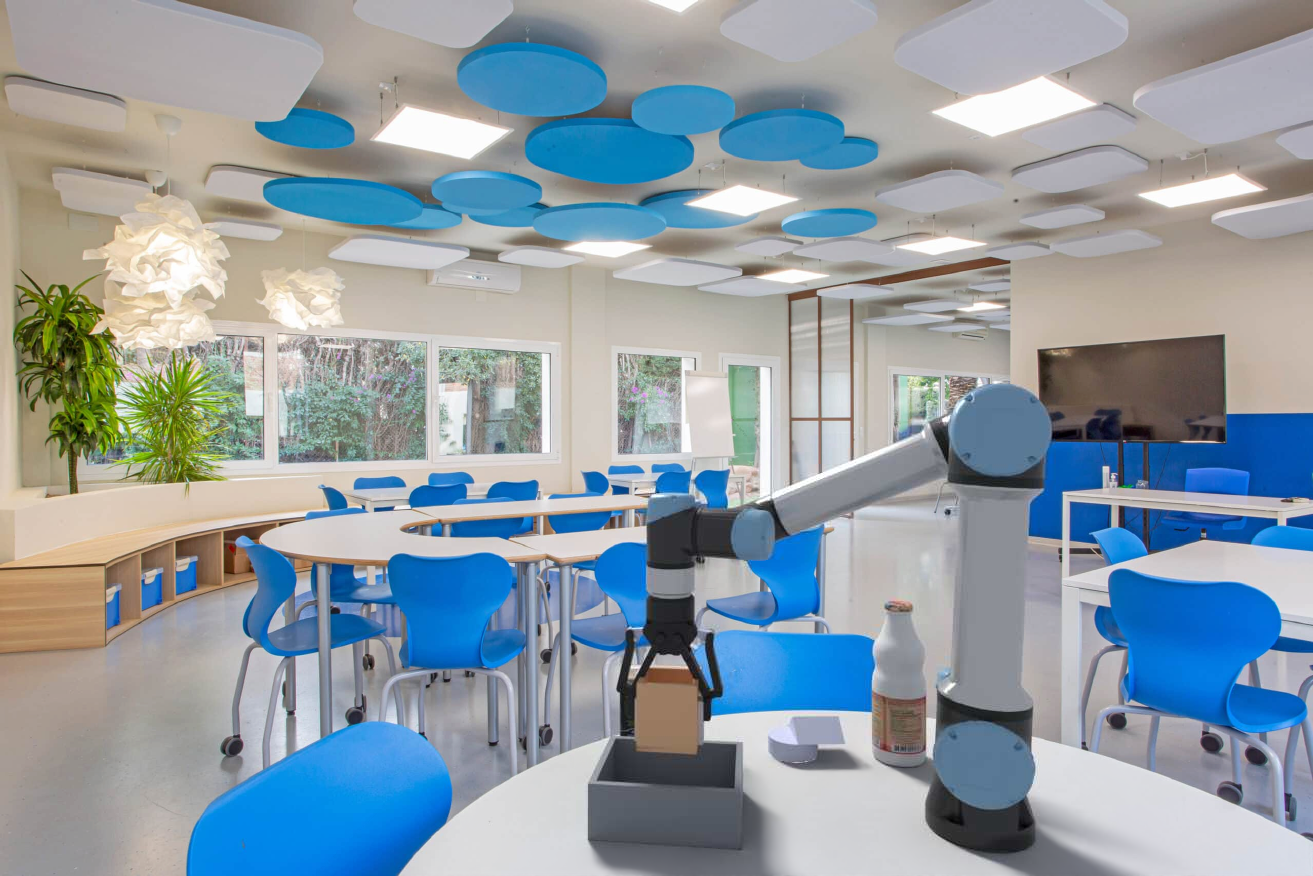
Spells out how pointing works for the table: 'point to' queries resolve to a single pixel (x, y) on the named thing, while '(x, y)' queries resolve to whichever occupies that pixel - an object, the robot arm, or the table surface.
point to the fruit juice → (899, 690)
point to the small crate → (667, 711)
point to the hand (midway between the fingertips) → (669, 739)
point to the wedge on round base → (804, 737)
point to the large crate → (668, 795)
